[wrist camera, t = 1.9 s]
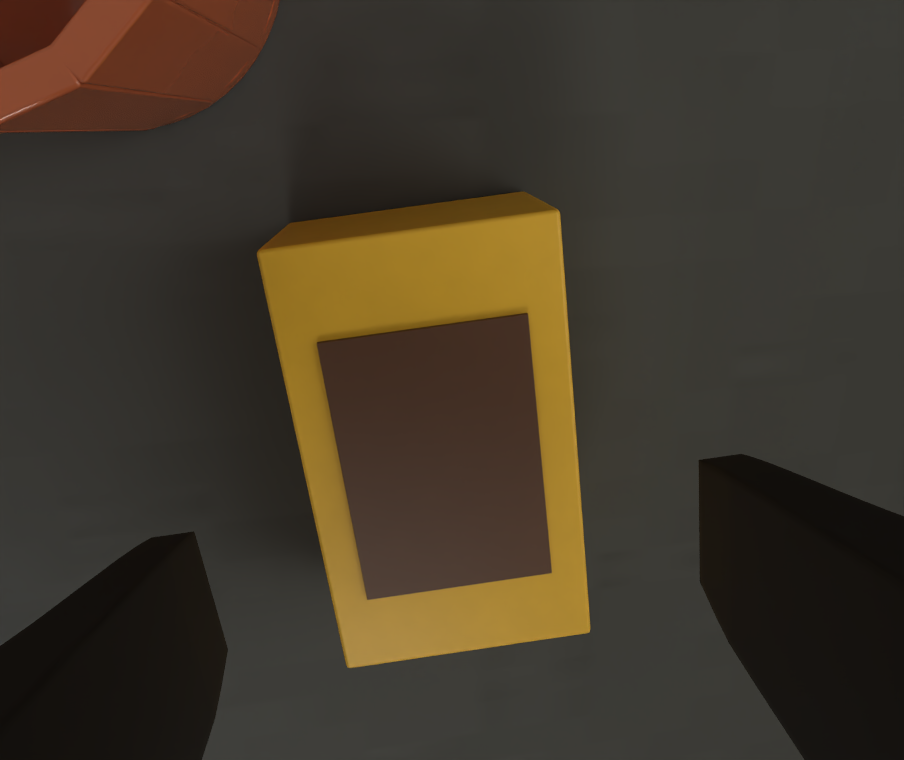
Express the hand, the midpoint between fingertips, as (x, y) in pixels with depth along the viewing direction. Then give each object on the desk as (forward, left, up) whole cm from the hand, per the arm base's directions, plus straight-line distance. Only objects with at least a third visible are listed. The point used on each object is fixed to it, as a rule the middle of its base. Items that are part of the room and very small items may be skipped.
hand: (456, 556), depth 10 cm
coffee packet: (0, 0, -7) cm, 7 cm away
